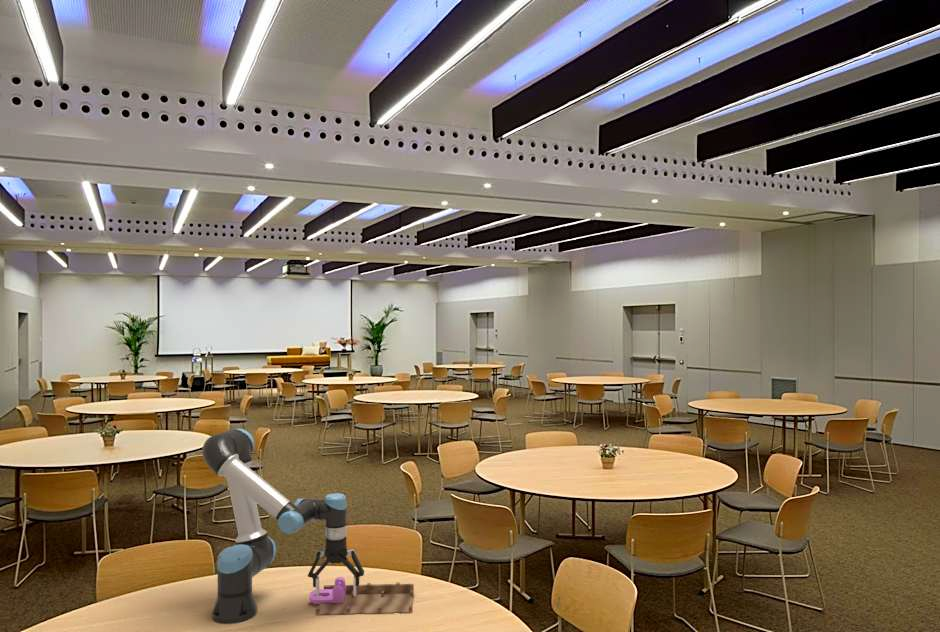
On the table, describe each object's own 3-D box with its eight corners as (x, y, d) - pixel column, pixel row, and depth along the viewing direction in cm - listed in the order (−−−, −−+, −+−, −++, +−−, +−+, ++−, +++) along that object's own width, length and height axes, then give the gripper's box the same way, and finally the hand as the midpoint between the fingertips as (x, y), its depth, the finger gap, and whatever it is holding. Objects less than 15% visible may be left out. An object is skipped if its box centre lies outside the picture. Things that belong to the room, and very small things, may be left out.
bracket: (345, 592, 247) (344, 576, 245) (343, 602, 241) (342, 587, 239) (311, 592, 246) (309, 577, 244) (308, 603, 241) (306, 587, 239)
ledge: (315, 617, 233) (315, 603, 233) (324, 596, 250) (324, 583, 250) (411, 615, 234) (411, 601, 234) (413, 595, 251) (413, 582, 251)
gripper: (299, 541, 236) (299, 600, 236) (369, 539, 237) (369, 598, 237) (303, 534, 244) (304, 591, 244) (371, 533, 245) (371, 590, 245)
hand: (336, 595), depth 240 cm, fingers open, 13 cm apart
